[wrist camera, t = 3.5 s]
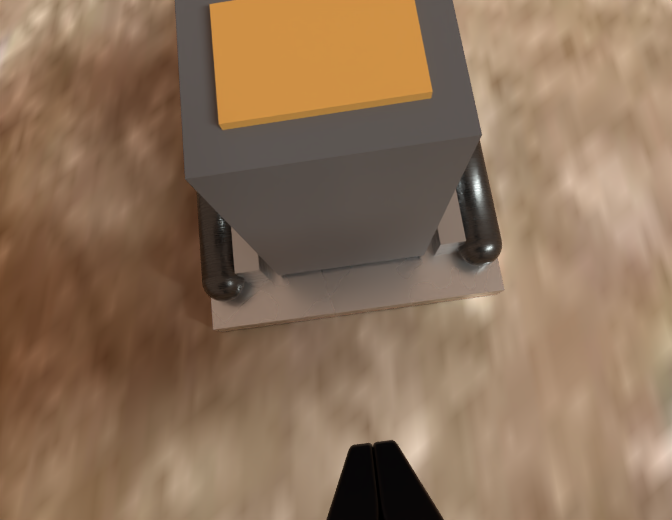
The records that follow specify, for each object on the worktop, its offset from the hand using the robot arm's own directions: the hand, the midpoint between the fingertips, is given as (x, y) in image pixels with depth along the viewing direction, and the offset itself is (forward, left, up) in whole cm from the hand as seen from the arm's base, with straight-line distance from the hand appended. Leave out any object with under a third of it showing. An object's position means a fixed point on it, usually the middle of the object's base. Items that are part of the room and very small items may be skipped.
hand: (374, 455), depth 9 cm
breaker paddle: (+1, -7, -6) cm, 9 cm away
